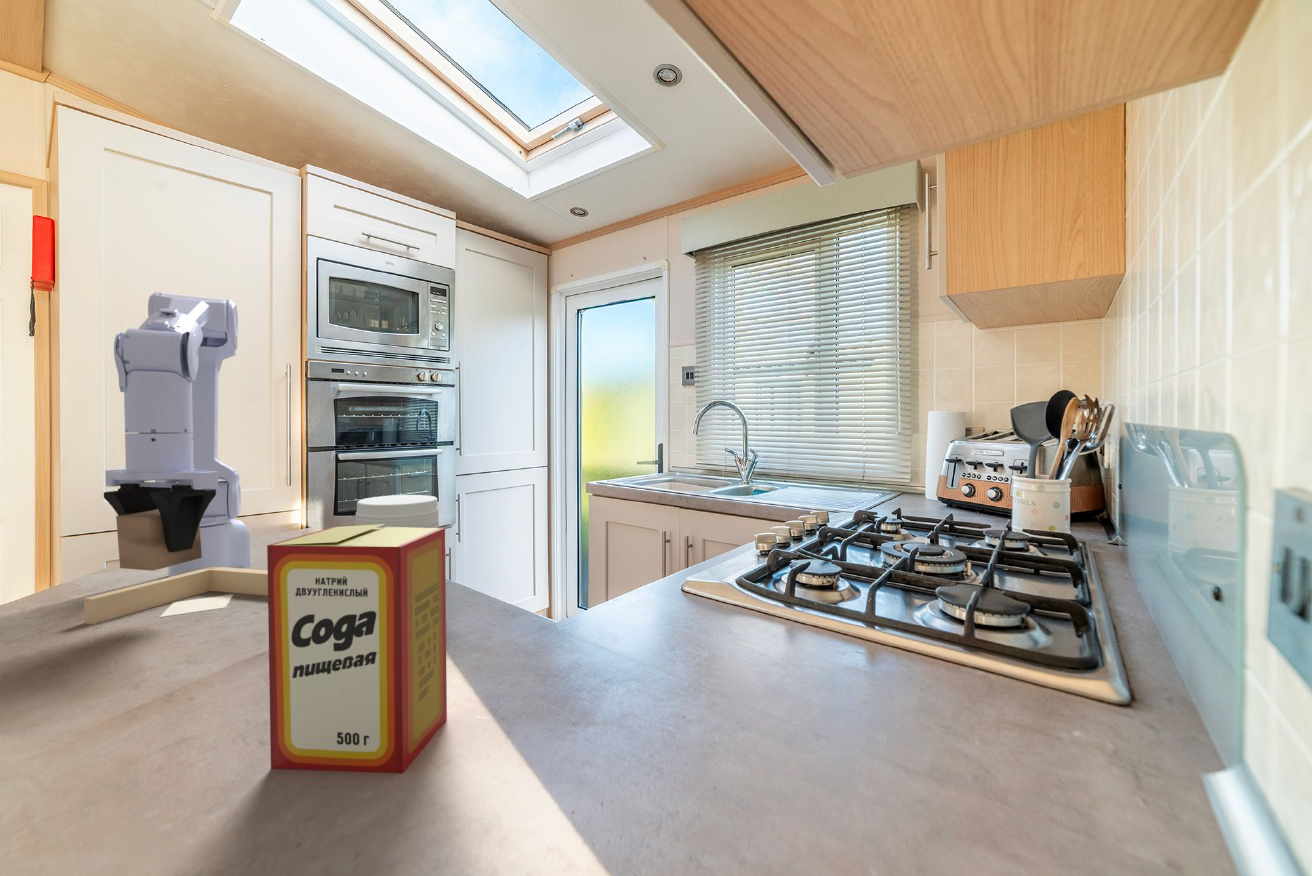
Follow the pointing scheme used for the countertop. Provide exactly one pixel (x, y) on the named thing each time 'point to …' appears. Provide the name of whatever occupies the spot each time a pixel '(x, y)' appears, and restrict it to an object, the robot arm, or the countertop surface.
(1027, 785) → the countertop surface
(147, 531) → the walnut block
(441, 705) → the baking soda box
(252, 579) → the corner board
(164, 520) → the robot arm
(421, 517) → the supplement tub
